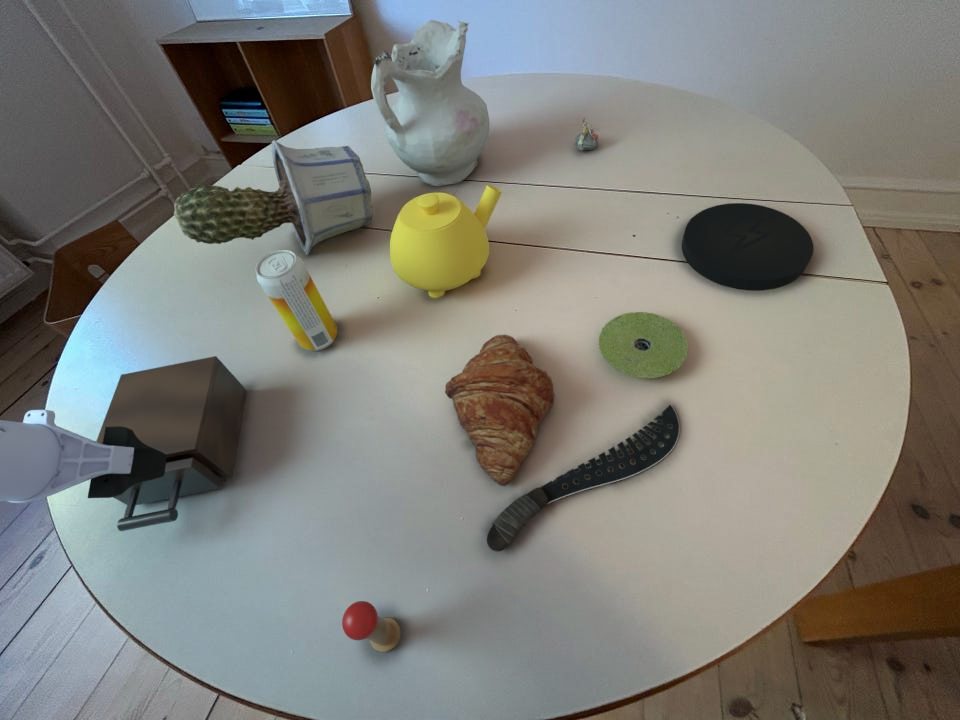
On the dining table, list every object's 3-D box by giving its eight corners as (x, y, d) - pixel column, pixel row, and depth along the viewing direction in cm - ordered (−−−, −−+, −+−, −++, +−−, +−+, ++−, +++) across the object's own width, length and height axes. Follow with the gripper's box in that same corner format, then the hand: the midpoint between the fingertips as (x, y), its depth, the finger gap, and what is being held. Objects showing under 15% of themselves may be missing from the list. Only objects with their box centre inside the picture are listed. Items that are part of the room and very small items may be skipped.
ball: (366, 650, 42) (355, 645, 39) (342, 628, 43) (329, 622, 41) (388, 618, 43) (379, 611, 41) (364, 597, 44) (354, 590, 42)
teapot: (481, 218, 87) (471, 145, 76) (532, 263, 79) (529, 188, 68) (382, 267, 82) (356, 196, 71) (425, 321, 74) (404, 250, 63)
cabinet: (232, 477, 61) (194, 448, 55) (133, 497, 61) (85, 470, 55) (247, 390, 70) (216, 355, 63) (160, 407, 70) (120, 374, 63)
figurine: (584, 139, 99) (586, 109, 94) (603, 145, 97) (606, 115, 92) (569, 151, 97) (570, 122, 92) (588, 158, 95) (590, 127, 90)
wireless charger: (680, 283, 72) (683, 273, 71) (682, 210, 82) (685, 200, 81) (815, 296, 68) (821, 286, 66) (800, 217, 78) (805, 206, 76)
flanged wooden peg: (387, 659, 47) (366, 650, 42) (365, 639, 49) (342, 628, 43) (406, 630, 49) (388, 618, 43) (384, 611, 50) (364, 597, 44)
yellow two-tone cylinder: (327, 316, 77) (286, 241, 65) (346, 337, 74) (307, 262, 62) (293, 337, 75) (245, 264, 63) (311, 360, 72) (263, 287, 60)
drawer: (214, 526, 57) (181, 506, 52) (118, 545, 57) (76, 527, 52) (236, 403, 67) (211, 377, 62) (155, 419, 67) (123, 395, 62)
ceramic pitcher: (458, 217, 90) (444, 75, 70) (370, 192, 96) (333, 54, 75) (505, 155, 101) (505, 16, 81) (423, 136, 107) (404, 2, 86)
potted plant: (338, 117, 86) (145, 138, 73) (380, 163, 77) (166, 198, 64) (346, 206, 99) (183, 238, 86) (383, 255, 90) (206, 299, 77)
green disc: (586, 331, 69) (586, 322, 67) (661, 312, 69) (664, 303, 68) (616, 395, 62) (618, 387, 60) (700, 374, 62) (704, 365, 61)
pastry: (593, 414, 61) (598, 377, 54) (500, 493, 56) (494, 463, 50) (505, 340, 70) (501, 301, 63) (419, 402, 65) (404, 367, 59)
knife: (697, 437, 58) (667, 406, 61) (702, 430, 57) (671, 399, 59) (501, 569, 51) (476, 527, 54) (501, 565, 50) (475, 523, 52)
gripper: (67, 395, 33) (201, 421, 46) (-116, 404, 35) (64, 426, 48) (46, 503, 31) (191, 498, 44) (-146, 507, 33) (49, 501, 46)
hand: (124, 466), depth 46 cm, fingers open, 7 cm apart
